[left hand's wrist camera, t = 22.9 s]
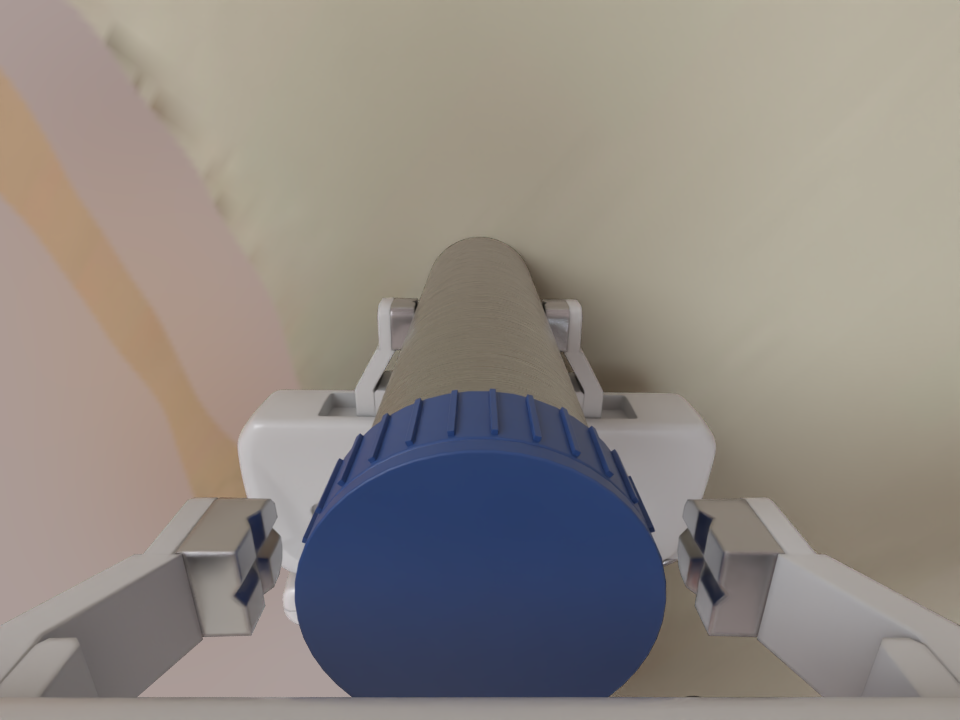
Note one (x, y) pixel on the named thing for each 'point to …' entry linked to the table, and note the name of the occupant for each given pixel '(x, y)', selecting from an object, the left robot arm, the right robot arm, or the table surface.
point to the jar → (479, 333)
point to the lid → (480, 557)
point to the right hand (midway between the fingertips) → (479, 301)
